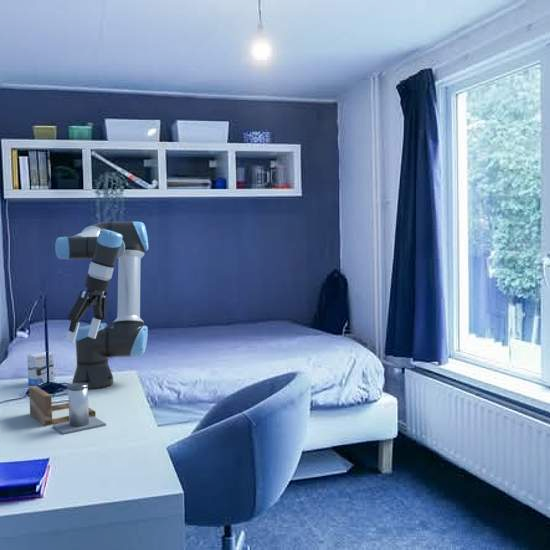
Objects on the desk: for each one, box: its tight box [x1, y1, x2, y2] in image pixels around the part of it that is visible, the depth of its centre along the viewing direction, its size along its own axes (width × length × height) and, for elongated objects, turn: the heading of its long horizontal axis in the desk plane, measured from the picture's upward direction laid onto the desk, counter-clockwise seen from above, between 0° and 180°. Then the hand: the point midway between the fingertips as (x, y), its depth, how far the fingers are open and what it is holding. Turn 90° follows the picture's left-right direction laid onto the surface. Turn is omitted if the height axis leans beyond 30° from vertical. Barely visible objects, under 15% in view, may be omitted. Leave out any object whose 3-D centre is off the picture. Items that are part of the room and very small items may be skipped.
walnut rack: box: [28, 385, 96, 427], centre depth 197 cm, size 16×16×9 cm
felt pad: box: [52, 416, 107, 435], centre depth 185 cm, size 13×9×1 cm
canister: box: [67, 382, 90, 427], centre depth 185 cm, size 6×6×12 cm
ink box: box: [27, 351, 55, 386], centre depth 239 cm, size 8×5×12 cm, turn 143°
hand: (81, 339), depth 200 cm, fingers open, 13 cm apart
